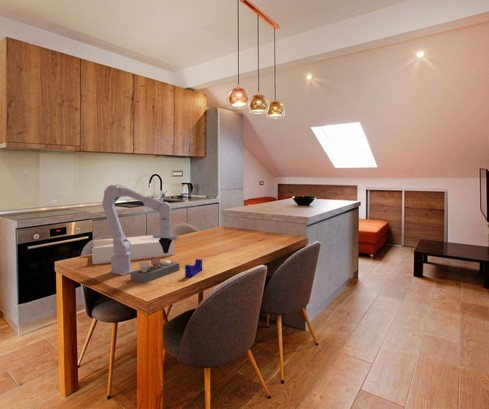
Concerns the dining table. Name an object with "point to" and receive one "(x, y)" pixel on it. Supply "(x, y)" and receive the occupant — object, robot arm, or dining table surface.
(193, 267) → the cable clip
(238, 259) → the dining table surface
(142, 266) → the knob near
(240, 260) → the dining table surface
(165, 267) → the mount
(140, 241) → the building model
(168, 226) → the robot arm
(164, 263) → the knob far
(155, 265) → the knob middle
